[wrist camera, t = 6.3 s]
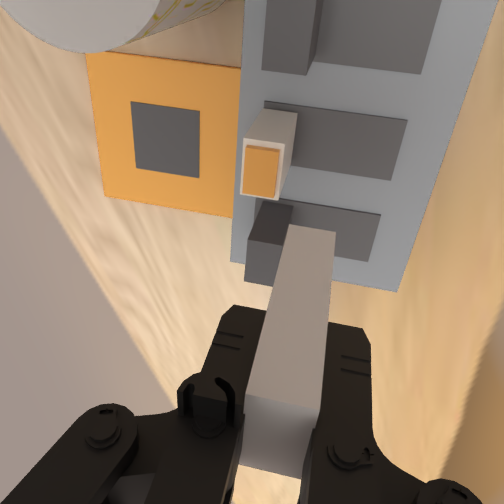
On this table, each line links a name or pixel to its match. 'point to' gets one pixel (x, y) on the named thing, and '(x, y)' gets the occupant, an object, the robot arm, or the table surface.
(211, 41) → the table surface
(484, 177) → the table surface
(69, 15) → the white closed cylinder
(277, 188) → the toggle
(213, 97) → the pad
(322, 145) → the grey switch box
